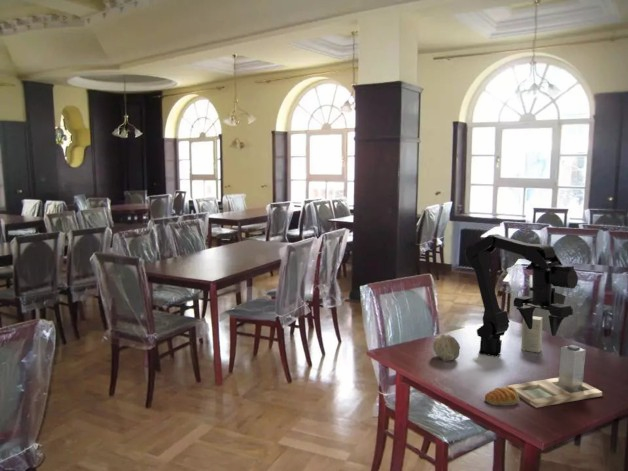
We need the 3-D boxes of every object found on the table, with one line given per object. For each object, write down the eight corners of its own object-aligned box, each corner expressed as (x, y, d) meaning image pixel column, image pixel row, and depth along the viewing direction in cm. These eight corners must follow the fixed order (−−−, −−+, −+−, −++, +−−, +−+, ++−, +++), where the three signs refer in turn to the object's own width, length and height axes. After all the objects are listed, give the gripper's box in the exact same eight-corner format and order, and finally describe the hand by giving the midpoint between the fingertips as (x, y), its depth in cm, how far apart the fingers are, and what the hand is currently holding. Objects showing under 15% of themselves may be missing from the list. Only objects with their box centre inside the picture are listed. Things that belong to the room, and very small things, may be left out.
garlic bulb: (457, 368, 175) (467, 345, 171) (434, 365, 174) (444, 342, 170) (448, 350, 184) (458, 328, 180) (426, 347, 182) (435, 325, 178)
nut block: (557, 388, 156) (561, 345, 154) (568, 385, 158) (572, 342, 155) (571, 394, 151) (575, 350, 149) (581, 391, 153) (585, 348, 151)
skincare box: (541, 349, 187) (543, 317, 185) (539, 353, 183) (541, 320, 182) (522, 346, 190) (524, 314, 189) (520, 349, 187) (522, 317, 185)
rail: (535, 407, 143) (536, 403, 143) (506, 389, 154) (507, 385, 154) (602, 395, 151) (602, 391, 151) (569, 379, 162) (570, 375, 162)
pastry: (494, 409, 142) (495, 396, 142) (478, 399, 148) (479, 386, 148) (521, 404, 145) (522, 391, 145) (505, 394, 152) (505, 382, 151)
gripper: (585, 286, 159) (584, 335, 161) (536, 278, 176) (536, 322, 178) (559, 290, 155) (559, 340, 156) (512, 281, 172) (512, 327, 173)
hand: (541, 332), depth 166 cm, fingers open, 9 cm apart
